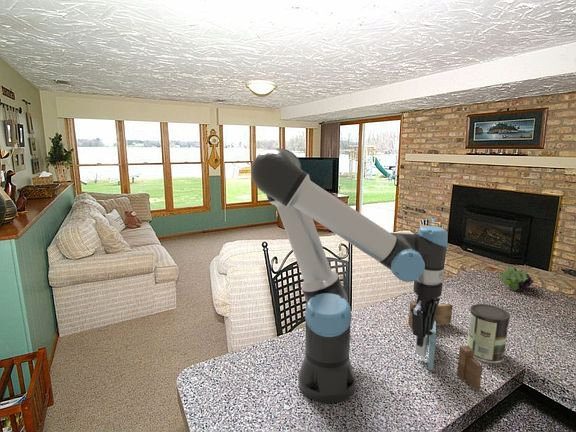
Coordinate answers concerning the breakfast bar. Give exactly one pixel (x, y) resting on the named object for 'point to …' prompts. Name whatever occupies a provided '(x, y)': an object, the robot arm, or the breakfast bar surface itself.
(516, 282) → the green and purple plant
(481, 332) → the coffee can
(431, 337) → the light blue flat block
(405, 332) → the breakfast bar surface
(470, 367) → the fence
